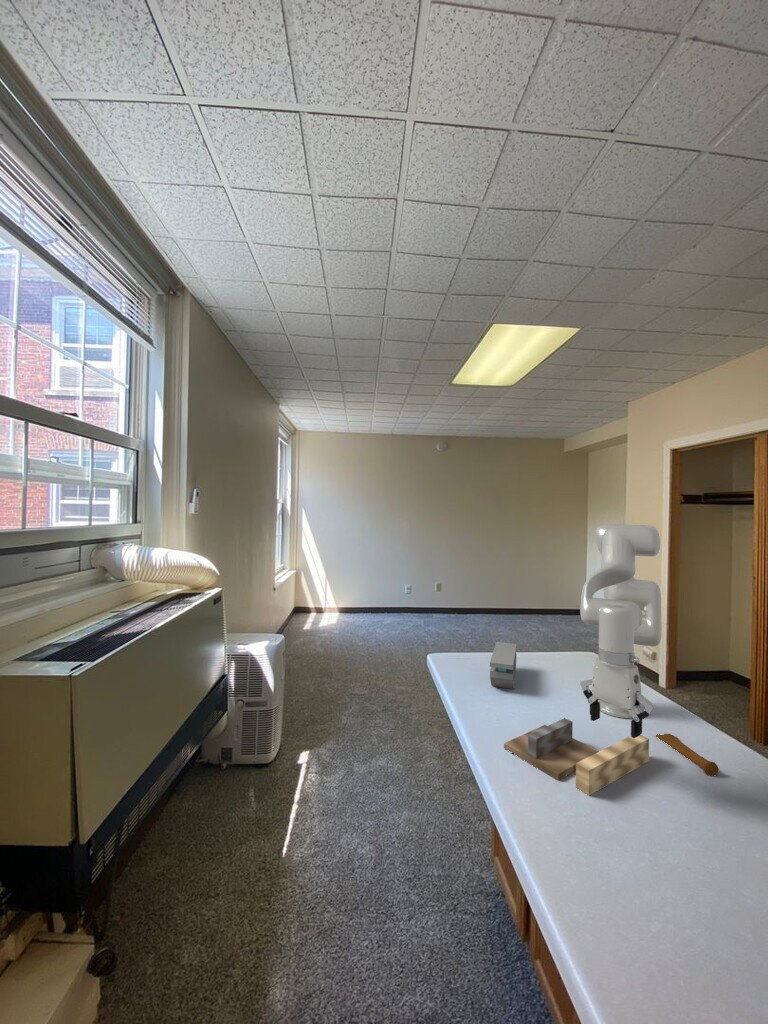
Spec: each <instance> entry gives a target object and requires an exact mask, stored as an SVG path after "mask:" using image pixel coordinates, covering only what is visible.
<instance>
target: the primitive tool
mask: <svg viewBox="0 0 768 1024" xmlns="http://www.w3.org/2000/svg"><path fill="white" fill-rule="evenodd" d="M658 734H659V735H658ZM660 734H661V733H657V735H656V737H658V738H659V739H660V740H659V739H658V738H657V739H658V740H659V741H661V740H662V741H664V742H665V743H667V744H668V745H670V746H671V747H672V749H673V750H674V749H675V750H674V751H676V750H677V751H678V752H679V754H680V753H681V754H682V755H681V754H680V755H681V756H683V755H684V756H685V757H684V756H683V757H684V758H685V759H687V758H688V759H687V760H689V759H690V760H691V761H690V760H689V761H690V762H692V763H693V764H694V765H696V766H698V767H699V768H700V769H702V771H703V773H704V774H705V775H707V776H709V775H710V776H711V777H715V776H714V775H716V776H717V775H718V773H719V770H720V769H719V766H718V765H717V763H715V761H709V760H708V759H706V758H704V757H703V756H701V755H700V754H698V753H697V752H696V751H694V750H693V749H691V748H690V747H688V745H685V743H683V742H682V741H681V740H680V739H679V738H678V737H677V736H675V735H674V734H671V733H663V734H664V735H660ZM656 737H655V738H656ZM662 741H661V742H662ZM664 742H663V743H664ZM665 743H664V744H665ZM667 744H666V745H667ZM668 745H667V746H668ZM670 746H669V747H670ZM671 747H670V748H671ZM677 751H676V752H677ZM678 752H677V753H678Z"/></svg>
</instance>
